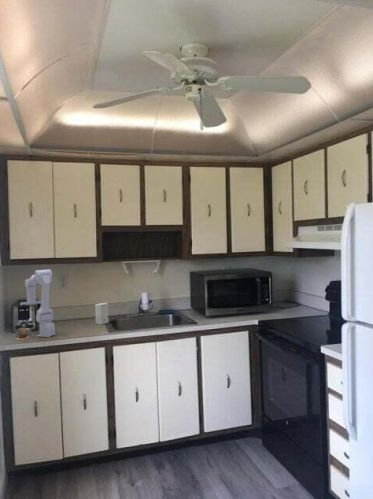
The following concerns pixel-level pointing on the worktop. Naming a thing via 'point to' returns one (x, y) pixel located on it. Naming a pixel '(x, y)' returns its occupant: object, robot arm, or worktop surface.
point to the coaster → (23, 338)
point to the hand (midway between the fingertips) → (32, 314)
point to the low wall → (27, 333)
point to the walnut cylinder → (22, 333)
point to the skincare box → (101, 313)
